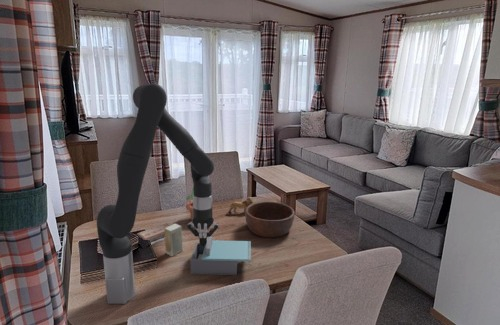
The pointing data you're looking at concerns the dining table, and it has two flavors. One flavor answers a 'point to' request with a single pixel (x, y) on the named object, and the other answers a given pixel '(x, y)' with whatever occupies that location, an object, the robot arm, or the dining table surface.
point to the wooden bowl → (269, 218)
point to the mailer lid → (226, 250)
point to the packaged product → (154, 234)
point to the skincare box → (173, 239)
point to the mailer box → (210, 264)
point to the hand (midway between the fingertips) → (203, 245)
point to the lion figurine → (241, 204)
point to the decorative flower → (190, 203)
